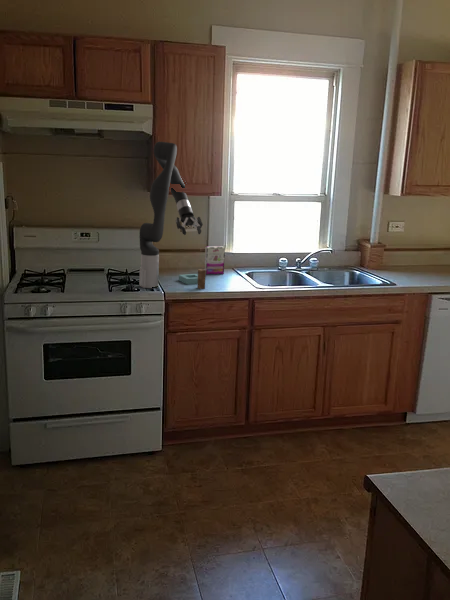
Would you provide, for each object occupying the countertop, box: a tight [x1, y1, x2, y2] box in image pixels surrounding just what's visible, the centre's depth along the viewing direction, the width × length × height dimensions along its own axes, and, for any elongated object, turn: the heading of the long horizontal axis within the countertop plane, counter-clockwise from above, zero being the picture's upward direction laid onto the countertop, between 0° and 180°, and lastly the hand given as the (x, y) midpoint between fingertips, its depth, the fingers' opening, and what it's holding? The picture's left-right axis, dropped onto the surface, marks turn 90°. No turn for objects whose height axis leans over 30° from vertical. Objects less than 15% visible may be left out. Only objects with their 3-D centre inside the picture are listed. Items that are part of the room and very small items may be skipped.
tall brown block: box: [196, 268, 207, 290], centre depth 300 cm, size 3×3×10 cm
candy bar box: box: [204, 245, 226, 275], centre depth 339 cm, size 11×5×16 cm, turn 105°
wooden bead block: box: [178, 273, 198, 285], centre depth 316 cm, size 11×11×3 cm
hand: (192, 233), depth 306 cm, fingers open, 8 cm apart
